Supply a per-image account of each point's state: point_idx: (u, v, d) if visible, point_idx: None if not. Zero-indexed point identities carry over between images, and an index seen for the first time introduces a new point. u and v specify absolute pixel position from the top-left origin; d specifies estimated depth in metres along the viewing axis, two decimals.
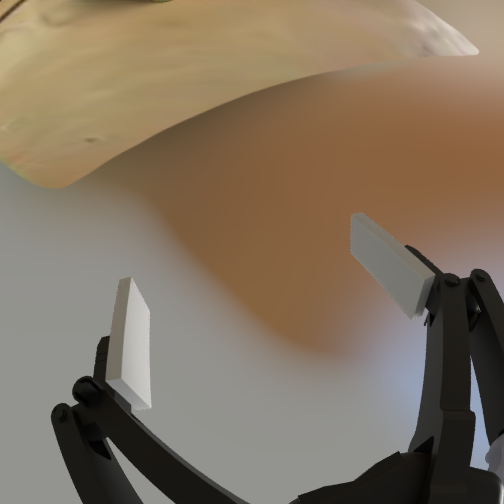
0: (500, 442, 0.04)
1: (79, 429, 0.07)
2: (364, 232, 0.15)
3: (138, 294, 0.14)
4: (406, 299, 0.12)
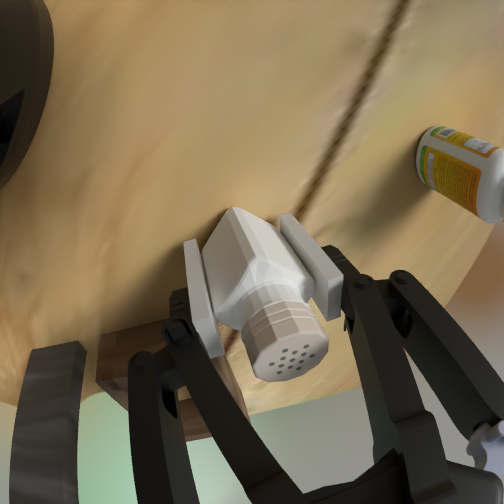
0: (479, 439, 0.05)
1: (157, 382, 0.09)
2: (287, 232, 0.16)
3: (200, 255, 0.17)
4: (320, 299, 0.13)
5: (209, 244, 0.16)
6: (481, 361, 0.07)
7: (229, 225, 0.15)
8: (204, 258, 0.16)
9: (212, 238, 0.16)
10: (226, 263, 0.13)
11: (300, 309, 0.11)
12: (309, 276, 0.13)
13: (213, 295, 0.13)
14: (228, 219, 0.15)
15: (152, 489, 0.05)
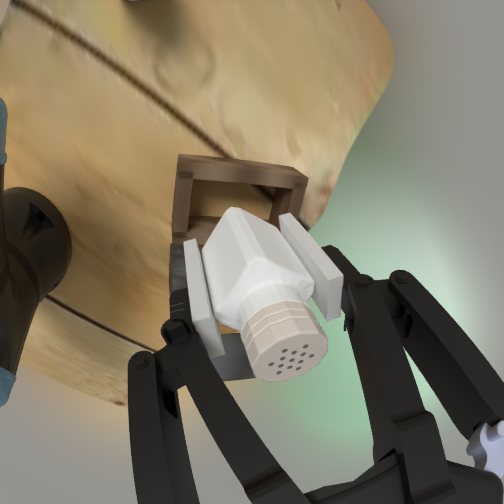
0: (479, 439, 0.05)
1: (157, 382, 0.09)
2: (287, 232, 0.16)
3: (200, 255, 0.17)
4: (320, 299, 0.13)
5: (209, 244, 0.16)
6: (481, 361, 0.07)
7: (228, 225, 0.15)
8: (204, 258, 0.16)
9: (212, 238, 0.16)
10: (226, 264, 0.13)
11: (299, 309, 0.11)
12: (309, 276, 0.13)
13: (213, 295, 0.13)
14: (227, 219, 0.15)
15: (152, 489, 0.05)
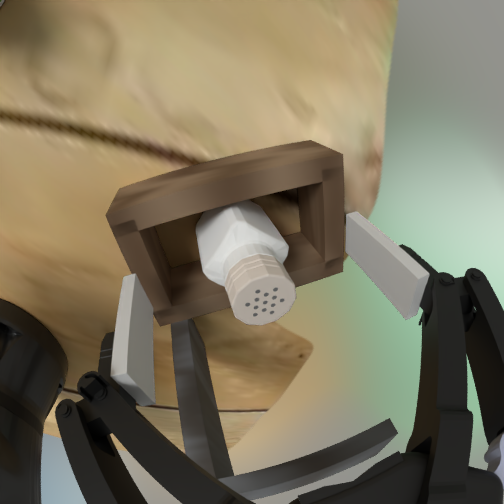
0: (499, 441, 0.05)
1: (83, 425, 0.07)
2: (359, 231, 0.15)
3: (142, 291, 0.15)
4: (400, 298, 0.12)
5: (202, 219, 0.19)
6: None
7: None
8: (197, 230, 0.19)
9: (205, 214, 0.19)
10: (215, 230, 0.16)
11: (271, 260, 0.14)
12: (283, 240, 0.16)
13: (204, 256, 0.16)
14: None
15: None
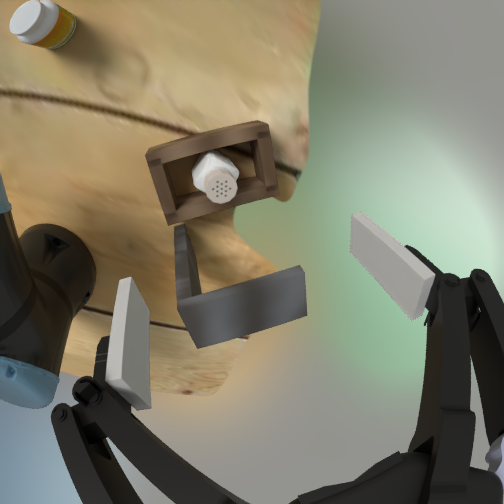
0: (500, 442, 0.04)
1: (79, 429, 0.07)
2: (364, 232, 0.15)
3: (138, 294, 0.14)
4: (406, 299, 0.12)
5: (195, 164, 0.33)
6: None
7: (203, 153, 0.32)
8: (192, 170, 0.33)
9: (197, 161, 0.33)
10: (201, 164, 0.30)
11: (225, 171, 0.27)
12: (235, 167, 0.30)
13: (194, 177, 0.30)
14: None
15: None
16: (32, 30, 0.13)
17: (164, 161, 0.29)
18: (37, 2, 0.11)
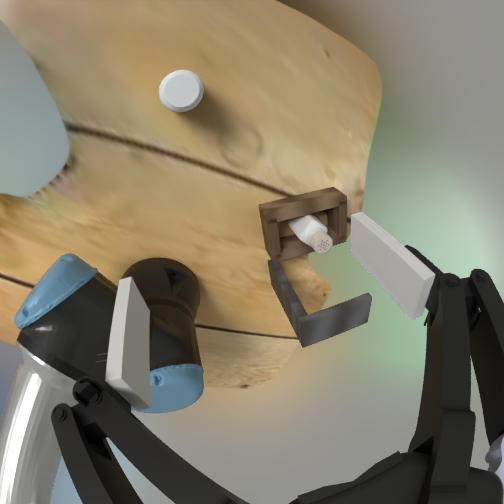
0: (500, 442, 0.04)
1: (79, 429, 0.07)
2: (364, 232, 0.15)
3: (138, 294, 0.14)
4: (406, 299, 0.12)
5: (291, 219, 0.48)
6: None
7: None
8: (290, 223, 0.47)
9: None
10: (302, 223, 0.45)
11: (324, 232, 0.42)
12: (325, 227, 0.44)
13: (298, 232, 0.45)
14: None
15: None
16: None
17: (279, 220, 0.43)
18: (194, 79, 0.25)
